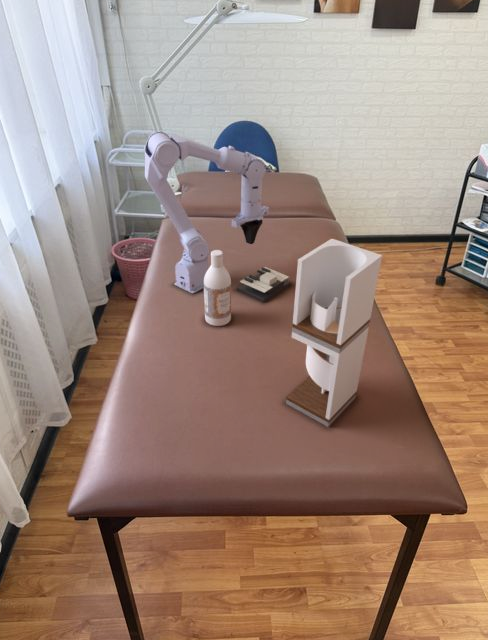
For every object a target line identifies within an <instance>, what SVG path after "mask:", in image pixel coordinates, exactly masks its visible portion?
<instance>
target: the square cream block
mask: <svg viewBox="0 0 488 640" xmlns="http://www.w3.org/2000/svg"><path fill="white" fill-rule="evenodd" d="M260 282H262V283H264V284H267V285H269V286H271V285H272V284H274V283H276V282H277V276H276V275H274V274H271V273H269V272H267V273H265V274H263V275H262V276H260Z"/></svg>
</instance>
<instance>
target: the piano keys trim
mask: <svg viewBox="0 0 488 640" xmlns="http://www.w3.org/2000/svg"><path fill="white" fill-rule="evenodd" d="M256 272H257V273H258V274H265V273H267V272H269V273H271V274H274V275H276V276H277V280H278V281H280V282H282V281H284V280H288V279H289V278H290V276H289V275H286V274H284V273H281V272H279V271H276V270H274V269H271V268H269V267H266V266H263V267H261V268H260V269H257V271H256ZM255 276H256V275H255ZM255 276H254V275H252V274H249V275H248V276H246V277H244V278H243V279H241V280H240V281H239V283H241V284H243V283H244V284H246V285H248V286H250V287H253V288H255V289H257V290H259V291H262V292H264V293H265V292H266V291H268V290H270V289H271V288H273V287H271V286H269V285H267V284H264V283H262V282H260V281H257V279H258V278H257V277H255ZM258 285H259V286H258ZM267 289H268V290H267Z"/></svg>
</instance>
